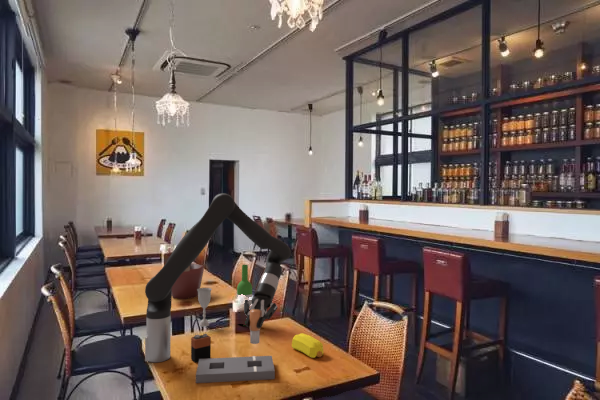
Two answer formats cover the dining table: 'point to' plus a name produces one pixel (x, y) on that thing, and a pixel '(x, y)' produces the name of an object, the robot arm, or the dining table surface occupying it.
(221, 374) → the grey peg board
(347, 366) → the dining table surface
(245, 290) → the wine bottle
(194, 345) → the battery
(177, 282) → the bucket
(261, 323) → the robot arm
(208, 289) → the chalice
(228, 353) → the dining table surface
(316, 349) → the yellow faceted prism
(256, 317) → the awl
